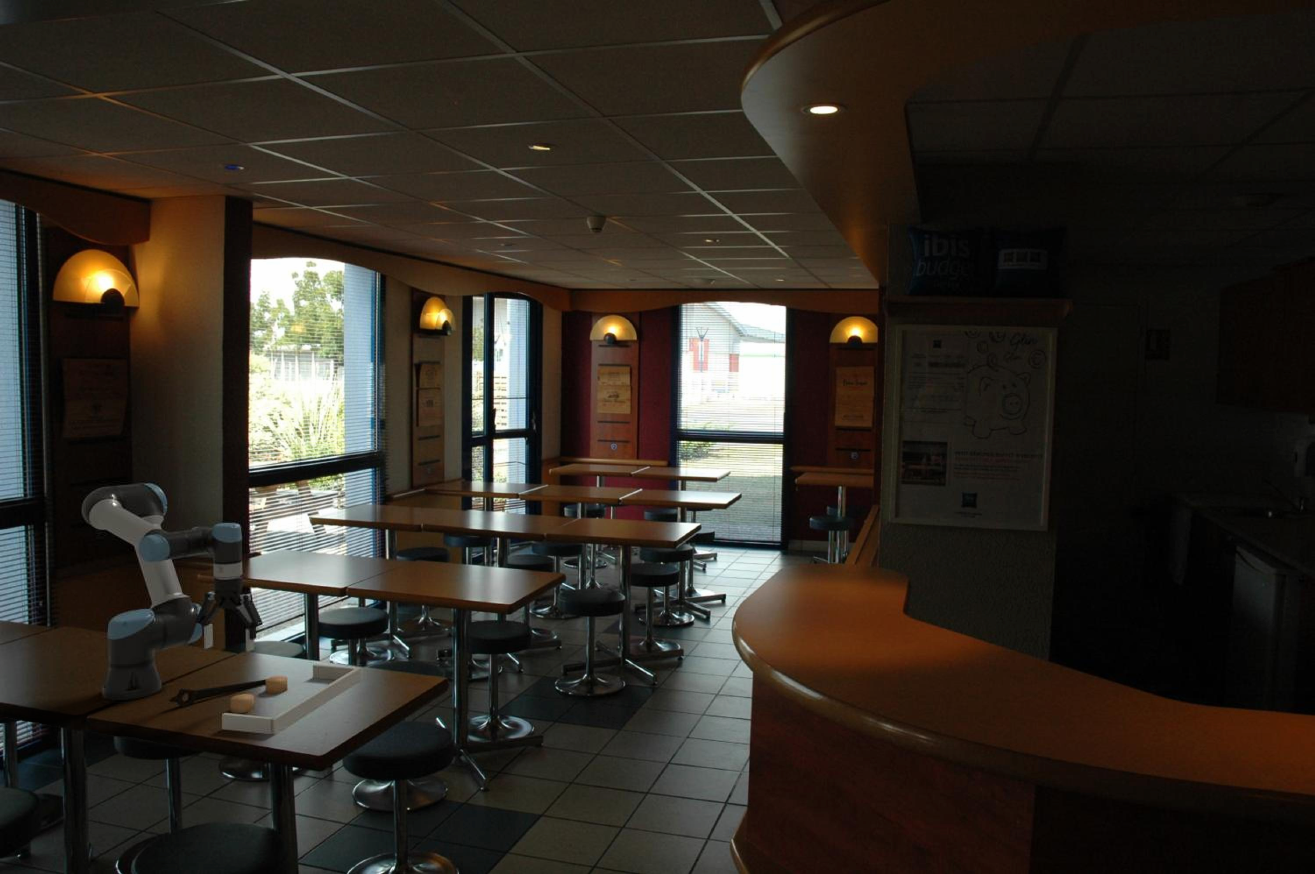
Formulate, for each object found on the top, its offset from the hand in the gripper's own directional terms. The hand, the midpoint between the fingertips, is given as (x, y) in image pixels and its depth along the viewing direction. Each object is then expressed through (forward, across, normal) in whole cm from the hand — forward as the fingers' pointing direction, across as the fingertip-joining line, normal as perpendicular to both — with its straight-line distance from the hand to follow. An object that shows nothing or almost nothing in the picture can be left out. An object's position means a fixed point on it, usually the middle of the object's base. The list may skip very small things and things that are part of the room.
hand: (229, 648), depth 263 cm
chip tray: (+14, +21, 0) cm, 26 cm away
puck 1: (+15, +10, -8) cm, 19 cm away
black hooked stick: (+15, -2, 0) cm, 15 cm away
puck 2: (+14, +10, +8) cm, 19 cm away
